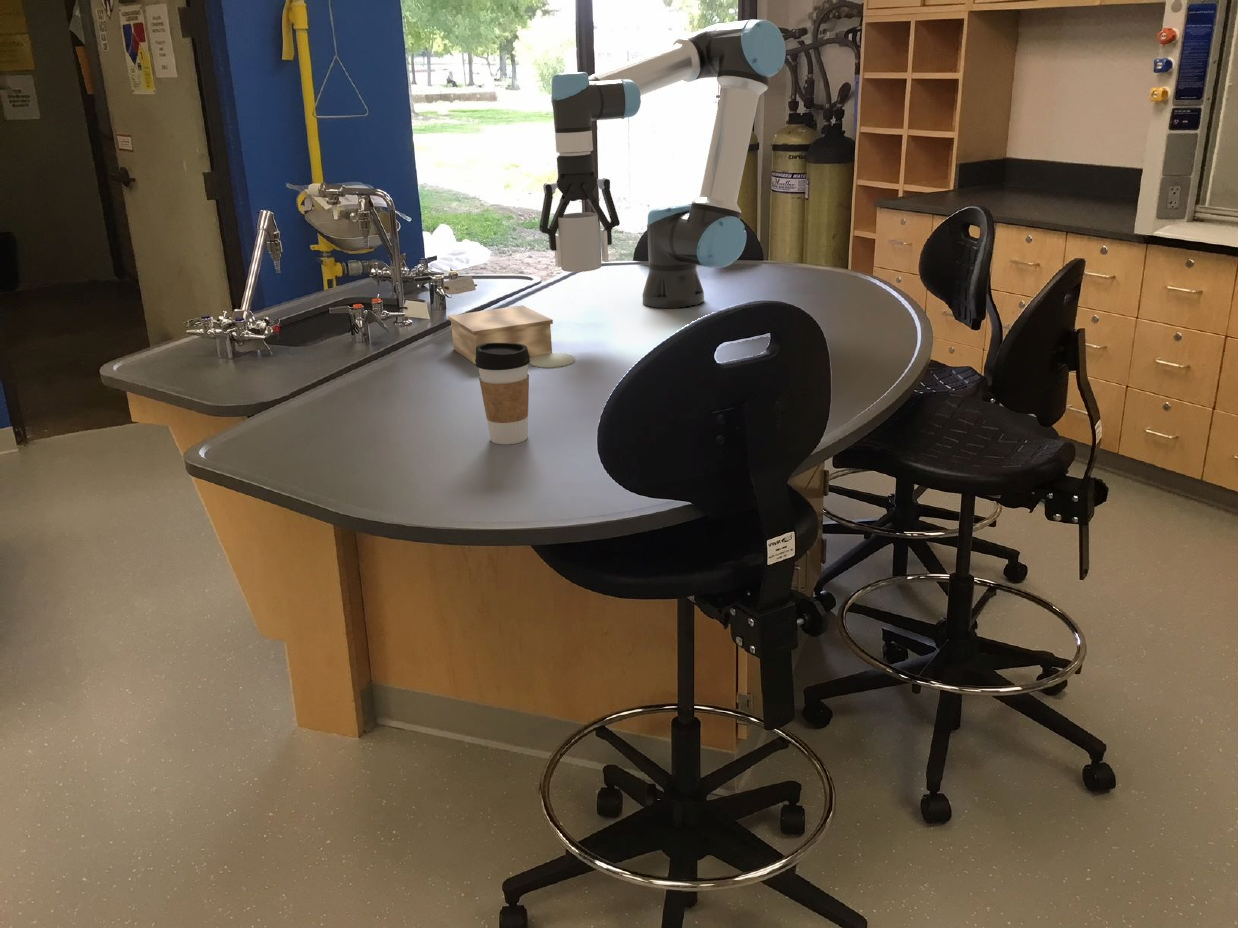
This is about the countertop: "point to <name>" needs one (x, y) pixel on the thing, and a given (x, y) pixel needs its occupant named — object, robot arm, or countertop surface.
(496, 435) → the coffee cup
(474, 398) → the countertop surface
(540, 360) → the felt coaster
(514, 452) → the countertop surface
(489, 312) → the maple box
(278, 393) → the countertop surface
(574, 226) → the mug
